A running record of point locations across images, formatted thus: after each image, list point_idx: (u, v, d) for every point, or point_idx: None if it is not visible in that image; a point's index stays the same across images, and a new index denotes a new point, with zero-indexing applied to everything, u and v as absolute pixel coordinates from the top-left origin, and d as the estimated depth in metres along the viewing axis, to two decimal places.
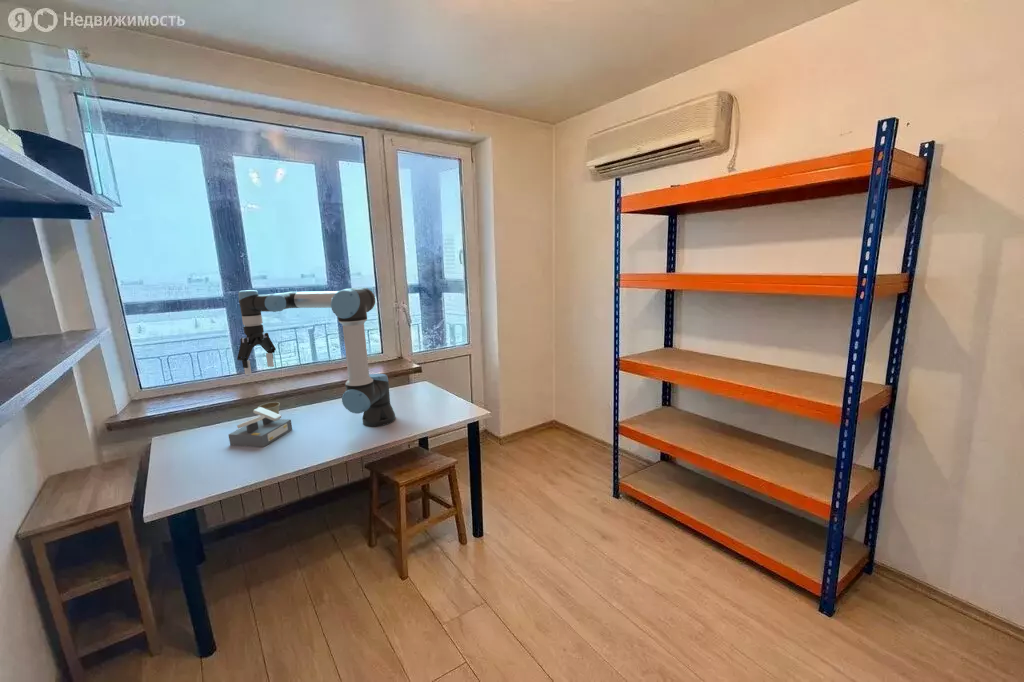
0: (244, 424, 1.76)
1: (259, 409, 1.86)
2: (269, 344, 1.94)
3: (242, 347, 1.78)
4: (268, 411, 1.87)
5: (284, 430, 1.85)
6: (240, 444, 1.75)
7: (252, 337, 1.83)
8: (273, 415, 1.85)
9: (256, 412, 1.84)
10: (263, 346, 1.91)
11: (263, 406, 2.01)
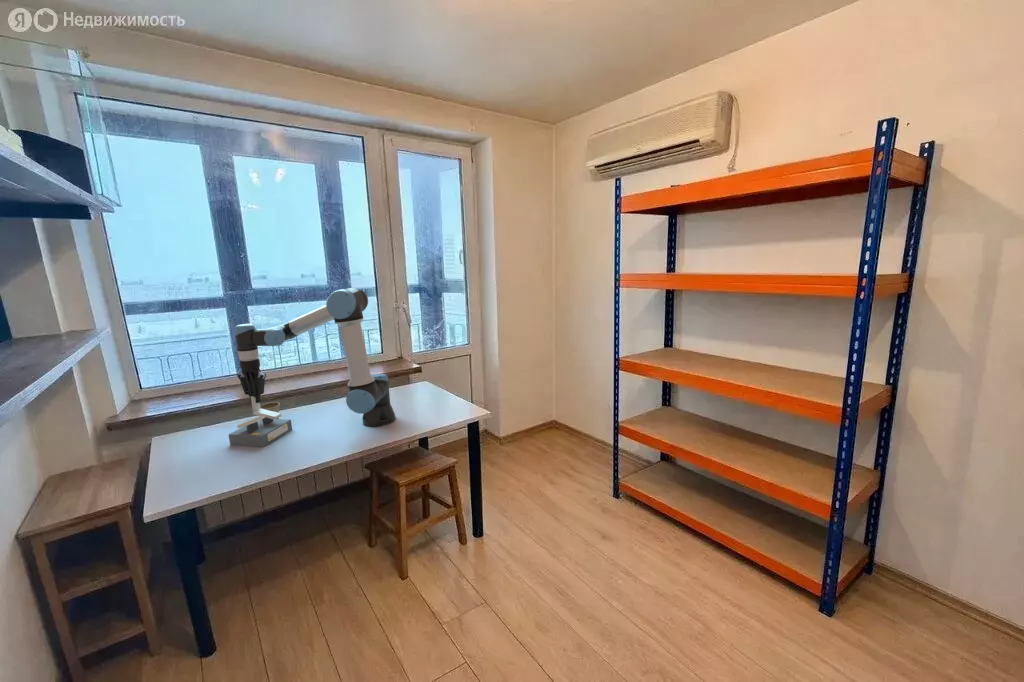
0: (244, 424, 1.76)
1: (258, 410, 1.86)
2: None
3: None
4: (268, 411, 1.87)
5: (284, 430, 1.85)
6: (240, 444, 1.75)
7: (243, 370, 1.82)
8: (273, 414, 1.85)
9: (256, 413, 1.84)
10: None
11: (263, 406, 2.01)
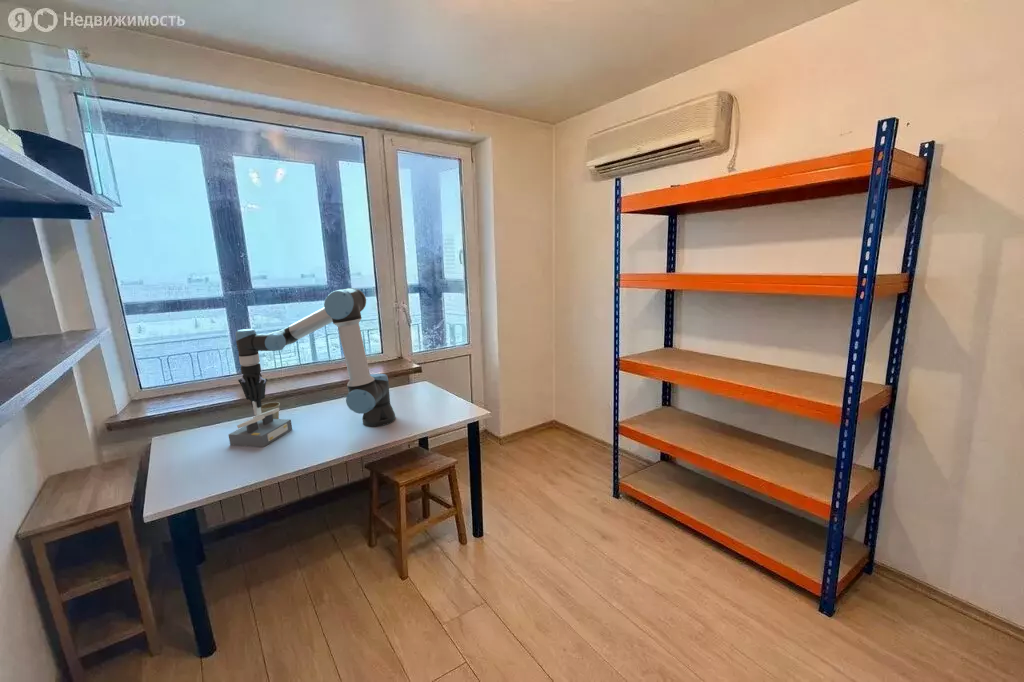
0: (244, 424, 1.76)
1: (258, 415, 1.87)
2: None
3: None
4: (266, 412, 1.87)
5: (284, 430, 1.85)
6: (240, 444, 1.75)
7: (243, 375, 1.83)
8: (270, 410, 1.85)
9: None
10: None
11: (263, 406, 2.01)
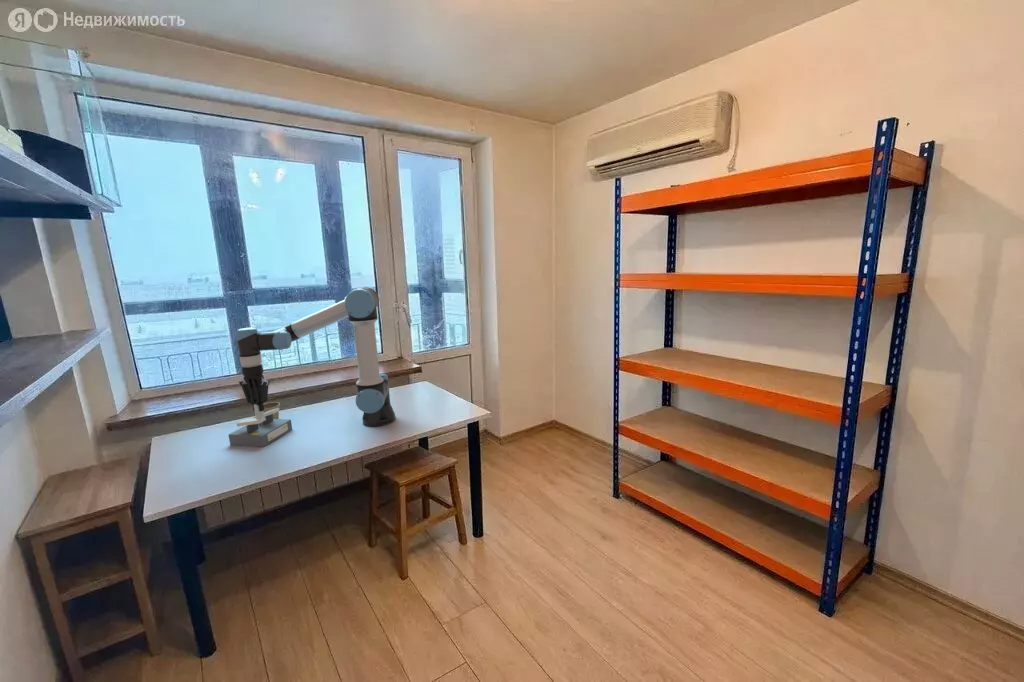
0: (244, 423, 1.76)
1: None
2: None
3: None
4: (266, 412, 1.87)
5: (284, 430, 1.85)
6: (240, 444, 1.75)
7: (245, 377, 1.72)
8: (270, 410, 1.85)
9: None
10: None
11: None
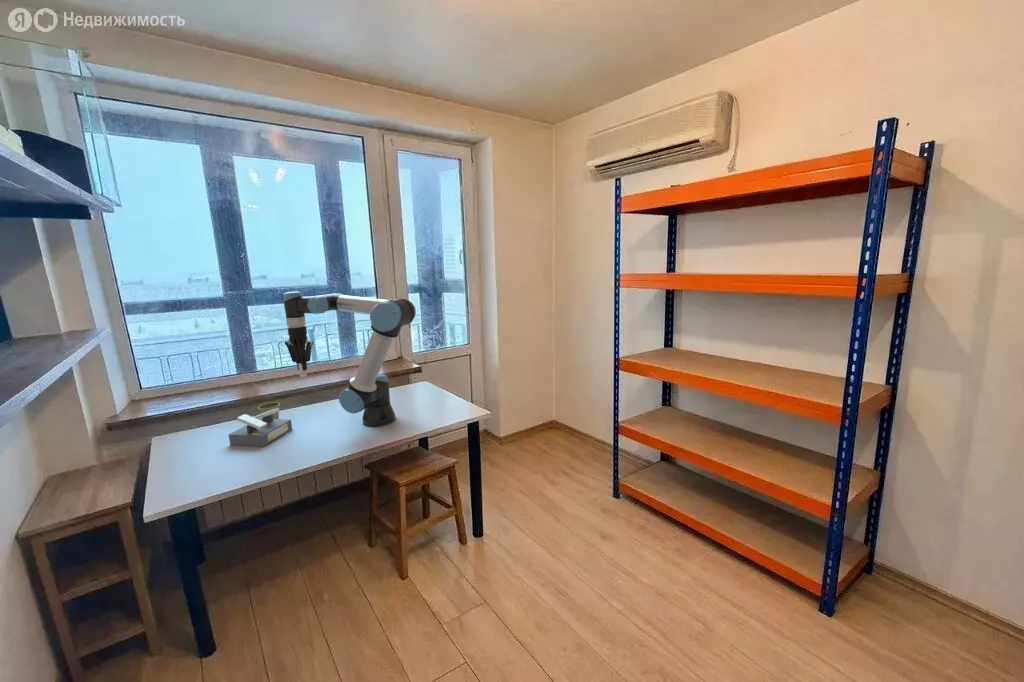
0: (245, 422, 1.75)
1: (258, 415, 1.87)
2: None
3: None
4: (266, 412, 1.87)
5: (284, 430, 1.85)
6: (240, 444, 1.75)
7: (290, 337, 1.85)
8: (270, 410, 1.85)
9: (256, 417, 1.85)
10: None
11: (263, 406, 2.01)
